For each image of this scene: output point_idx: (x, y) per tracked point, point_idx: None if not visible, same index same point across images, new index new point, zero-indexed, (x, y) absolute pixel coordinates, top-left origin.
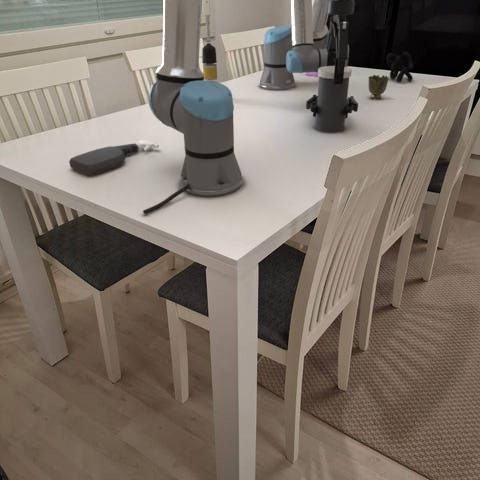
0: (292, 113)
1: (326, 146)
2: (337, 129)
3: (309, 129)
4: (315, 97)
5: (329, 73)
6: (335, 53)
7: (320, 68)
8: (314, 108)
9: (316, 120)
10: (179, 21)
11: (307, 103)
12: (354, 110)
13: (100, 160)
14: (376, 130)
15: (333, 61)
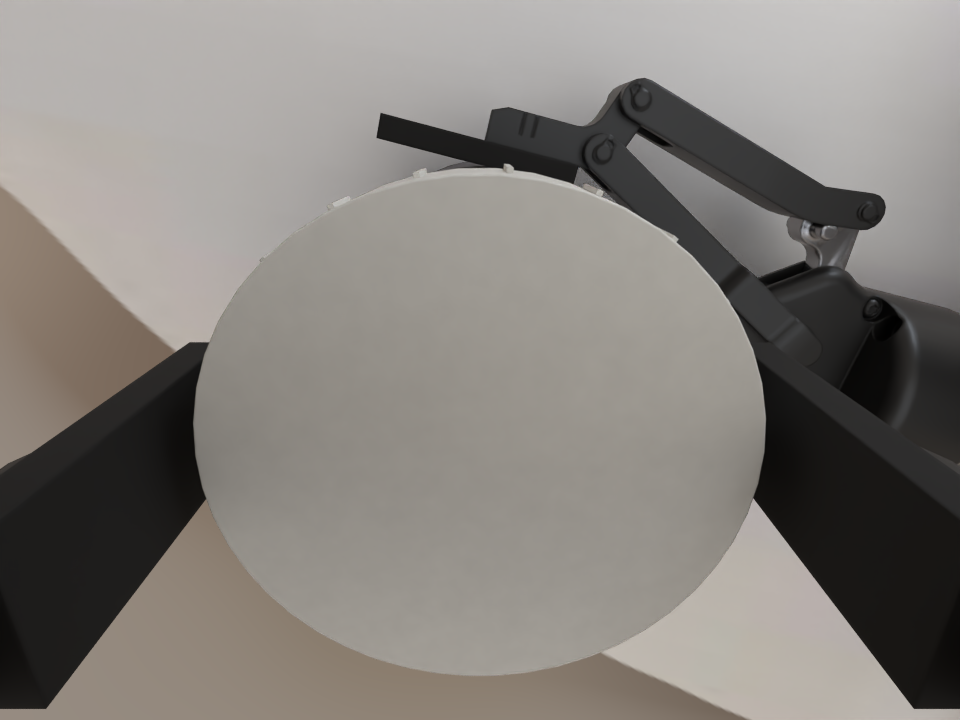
0: (904, 24)
1: (113, 172)
2: None
3: (464, 110)
4: (776, 204)
5: (217, 333)
6: (942, 692)
7: (579, 235)
8: (380, 123)
9: (467, 164)
10: None
11: (622, 90)
12: None
13: None
14: None
15: (827, 543)
